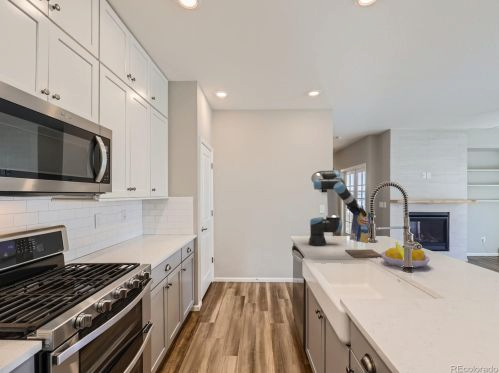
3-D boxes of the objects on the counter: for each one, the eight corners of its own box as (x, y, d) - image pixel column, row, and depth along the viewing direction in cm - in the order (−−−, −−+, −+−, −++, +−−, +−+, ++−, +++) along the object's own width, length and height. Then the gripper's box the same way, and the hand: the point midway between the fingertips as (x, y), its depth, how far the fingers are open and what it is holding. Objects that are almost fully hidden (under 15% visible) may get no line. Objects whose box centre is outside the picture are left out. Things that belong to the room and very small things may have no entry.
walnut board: (345, 251, 202) (345, 249, 202) (371, 251, 201) (371, 249, 201) (353, 257, 182) (353, 256, 182) (383, 257, 181) (383, 256, 181)
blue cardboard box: (367, 243, 189) (371, 213, 191) (356, 241, 185) (360, 210, 187) (360, 241, 195) (364, 212, 198) (349, 239, 191) (353, 210, 193)
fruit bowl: (432, 273, 146) (431, 253, 146) (378, 267, 160) (378, 248, 160) (429, 261, 169) (428, 244, 170) (382, 256, 184) (382, 240, 184)
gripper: (338, 203, 192) (355, 224, 199) (355, 204, 178) (372, 227, 185) (343, 196, 194) (359, 217, 202) (360, 196, 181) (377, 219, 188)
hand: (366, 221), depth 193 cm, fingers closed on blue cardboard box, 2 cm apart
